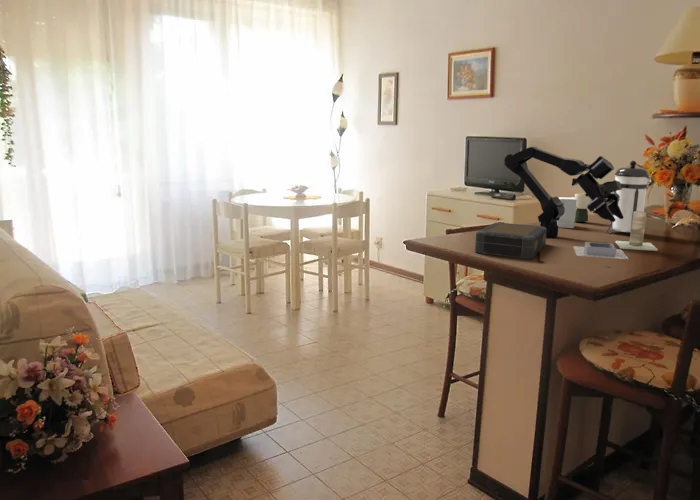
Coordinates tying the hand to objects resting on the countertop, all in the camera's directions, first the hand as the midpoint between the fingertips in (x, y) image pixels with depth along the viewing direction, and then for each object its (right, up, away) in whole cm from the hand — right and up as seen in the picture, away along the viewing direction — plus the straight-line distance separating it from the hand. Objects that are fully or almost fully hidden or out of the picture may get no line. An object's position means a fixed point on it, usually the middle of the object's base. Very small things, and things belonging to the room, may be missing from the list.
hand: (618, 219), depth 213 cm
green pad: (+5, -11, -2) cm, 12 cm away
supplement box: (-4, -1, +43) cm, 43 cm away
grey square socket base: (-13, -13, -13) cm, 23 cm away
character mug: (+8, +2, +55) cm, 56 cm away
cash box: (-42, -11, -6) cm, 44 cm away
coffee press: (+14, -4, +29) cm, 32 cm away
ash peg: (+5, -9, -3) cm, 11 cm away
